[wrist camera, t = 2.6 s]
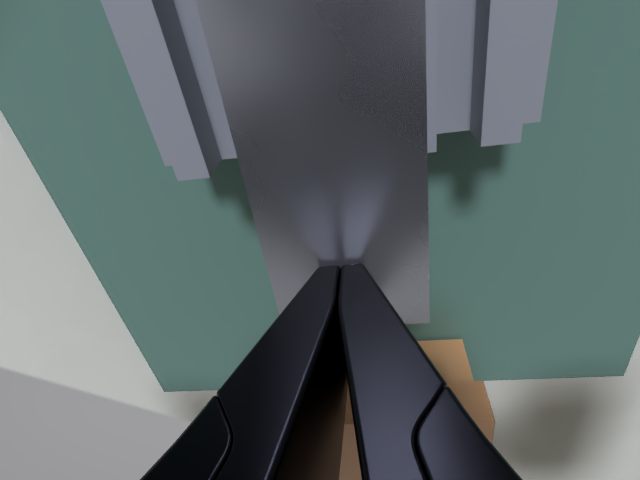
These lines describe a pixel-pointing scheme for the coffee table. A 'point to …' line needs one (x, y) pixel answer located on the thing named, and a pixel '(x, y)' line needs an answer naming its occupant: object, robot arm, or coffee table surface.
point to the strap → (330, 136)
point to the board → (443, 179)
